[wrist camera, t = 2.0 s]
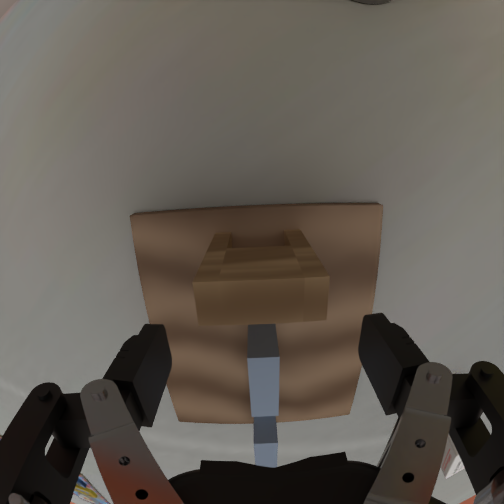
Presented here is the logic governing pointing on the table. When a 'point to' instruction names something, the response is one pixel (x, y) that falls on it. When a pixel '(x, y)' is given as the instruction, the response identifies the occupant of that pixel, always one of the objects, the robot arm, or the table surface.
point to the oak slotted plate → (260, 283)
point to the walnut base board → (236, 336)
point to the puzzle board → (87, 491)
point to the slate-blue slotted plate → (264, 390)
